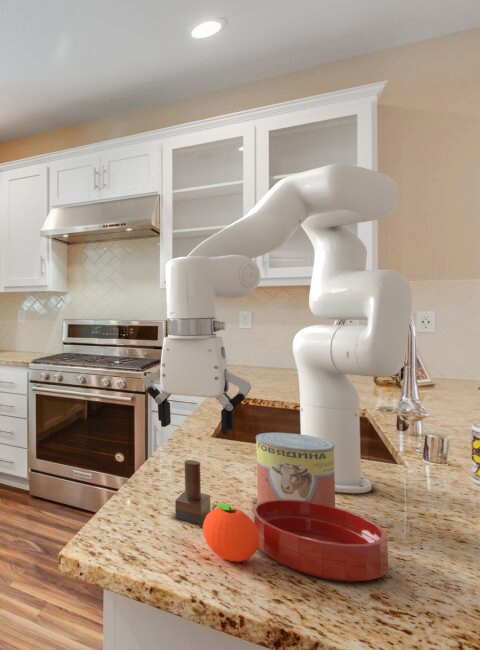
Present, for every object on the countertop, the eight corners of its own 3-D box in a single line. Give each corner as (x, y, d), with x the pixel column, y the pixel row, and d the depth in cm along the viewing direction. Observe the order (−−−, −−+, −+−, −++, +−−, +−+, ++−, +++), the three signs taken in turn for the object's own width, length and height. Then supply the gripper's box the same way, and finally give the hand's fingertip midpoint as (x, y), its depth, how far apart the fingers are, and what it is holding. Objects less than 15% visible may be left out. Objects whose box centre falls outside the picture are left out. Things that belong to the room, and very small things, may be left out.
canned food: (253, 512, 81) (251, 442, 81) (260, 492, 90) (259, 429, 90) (336, 530, 74) (334, 453, 74) (335, 506, 83) (334, 438, 83)
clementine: (189, 544, 70) (188, 496, 71) (234, 541, 71) (233, 494, 71) (222, 573, 62) (221, 518, 63) (272, 570, 63) (271, 516, 63)
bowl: (261, 522, 77) (261, 491, 77) (385, 551, 68) (385, 516, 68) (243, 560, 66) (242, 523, 66) (390, 601, 56) (389, 558, 56)
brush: (185, 506, 84) (184, 455, 84) (210, 512, 81) (209, 460, 82) (175, 518, 79) (174, 464, 80) (201, 524, 77) (200, 469, 77)
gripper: (253, 327, 78) (257, 431, 78) (147, 328, 90) (151, 418, 89) (244, 330, 73) (248, 441, 73) (133, 330, 84) (136, 427, 84)
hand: (195, 429), depth 81 cm, fingers open, 9 cm apart
